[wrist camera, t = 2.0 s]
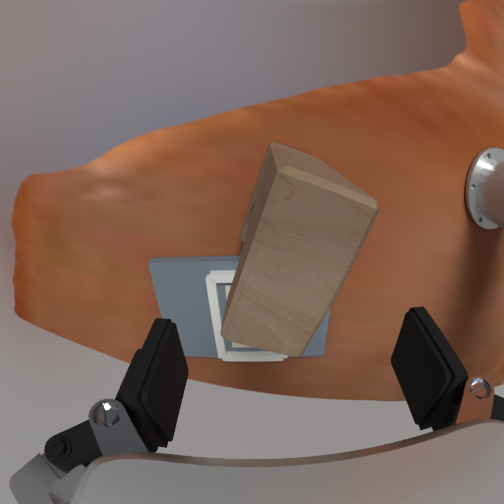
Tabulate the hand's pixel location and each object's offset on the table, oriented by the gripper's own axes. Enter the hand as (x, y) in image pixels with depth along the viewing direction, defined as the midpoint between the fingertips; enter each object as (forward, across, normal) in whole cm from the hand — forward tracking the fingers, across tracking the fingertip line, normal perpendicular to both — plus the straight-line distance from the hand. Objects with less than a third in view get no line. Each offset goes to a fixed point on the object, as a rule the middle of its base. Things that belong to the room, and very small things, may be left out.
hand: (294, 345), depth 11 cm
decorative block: (+25, -1, 0) cm, 25 cm away
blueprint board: (+25, +4, +16) cm, 30 cm away
